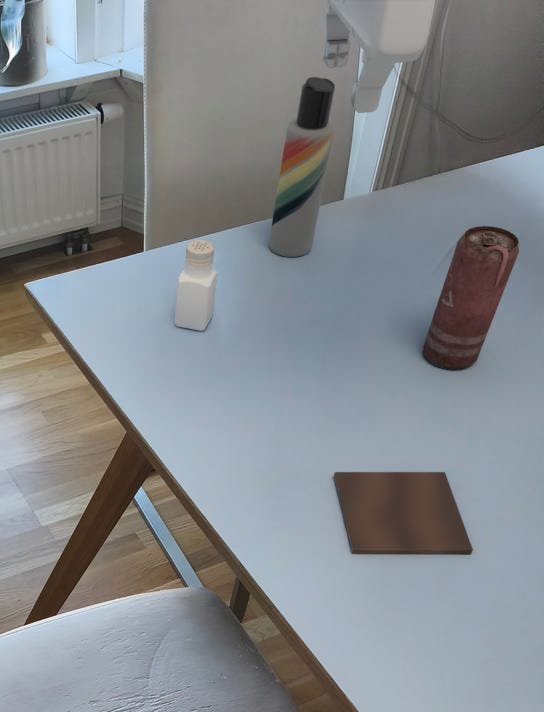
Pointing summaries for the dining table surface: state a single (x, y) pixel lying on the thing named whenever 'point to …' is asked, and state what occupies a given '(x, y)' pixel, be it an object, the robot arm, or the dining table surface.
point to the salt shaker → (196, 287)
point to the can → (470, 296)
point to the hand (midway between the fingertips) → (347, 86)
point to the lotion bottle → (303, 170)
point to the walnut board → (401, 513)
